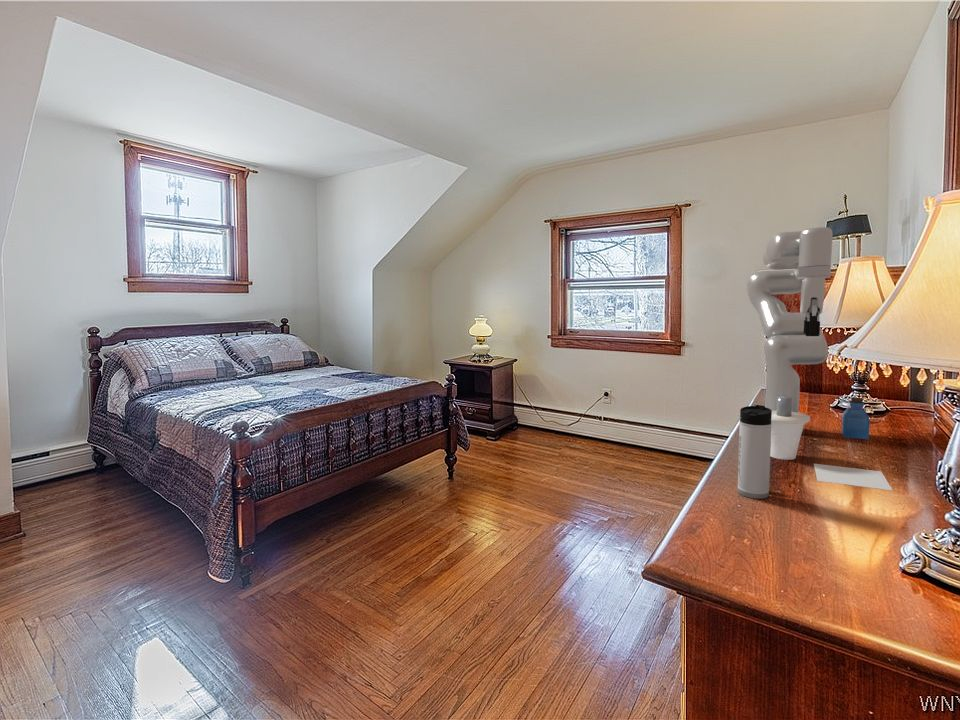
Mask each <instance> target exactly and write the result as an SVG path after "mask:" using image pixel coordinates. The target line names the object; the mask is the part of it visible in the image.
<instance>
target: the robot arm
mask: <svg viewBox="0 0 960 720" xmlns="http://www.w3.org/2000/svg"><path fill="white" fill-rule="evenodd" d="M832 251H833V229H831V228H830V227H826V226H819V227H817V226H816V227H810V228H805V229H803V230H799V231H795V230H794V231H783V232H779V233H778V232H777V233H775V234H774V235H772V236H771V237H769V239H768V241H767V244H766V249H765V251H764V253H763V257H762V261H763V264H764V265H765V266H766V268H769V269H771V270H763V271H758V272H755V273H752V274H751V275H750V276H749V277H748V278H747V283H746V288H747V289H746V291H747V296H748V299H749V301H750V303H751V305H752V306H753V308H754V309H755V310H756V312H757V314H758V316H759V320H760V324H761V327H762V331H763V333H764V335H765V336H766V338H767V339H766V341H764V345H763V351H764V358H765V359H764V360H765V368H766V369H765V371H766V375H765V399H764V401H765V405H764V406H765V407H766V408H769V409H771V410H776V411H777V397H778V396H788V397H792V412H797V413H800V412H799V409H800V386H801V385H800V384H801V379H800V376H799V373H798V372H797V371H796V370H795V369H794V368H793V367H792V366H793V365H819V364H822V363H824V362H825V361H826V360H827V358H828V356H829V348H828V343H827V340H826V338H825V334H824V333H823V330H822V328H821V321H820V319H821V318H820V315H821V314H822V313H823V308H824V307H823V306H824V300H825V285H826V279H830V278H831V272H832V271H831V269H832V268H831V267H832V253H833V252H832ZM799 293H800V305H799V312H789V311H788V310H787V306H786V305H785V303H783V301H781V300H780V299H779V298H778V297H776V296H774V295H794V294H799ZM803 432H804V429H803V430H802V433H803Z"/></svg>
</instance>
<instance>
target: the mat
mask: <svg viewBox="0 0 960 720" xmlns="http://www.w3.org/2000/svg"><path fill="white" fill-rule="evenodd" d="M813 467H814V472H815V476H816V480H817V482H822V483H823V482H824V483H831V484H839V485H846V486H853V487H860V488H861V487H862V488H870V489H876V490H885V491H894V490H893V489H892V487H891V485H890V484H889V482H888V480H887V478H886V476H885V475H884V474H883V472H882V471H881V470H873V469H872V470H871V469H864V468H863V469H862V468H857V467H845V466H837V465H831V464H822V463H821V464H820V463H813Z"/></svg>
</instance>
